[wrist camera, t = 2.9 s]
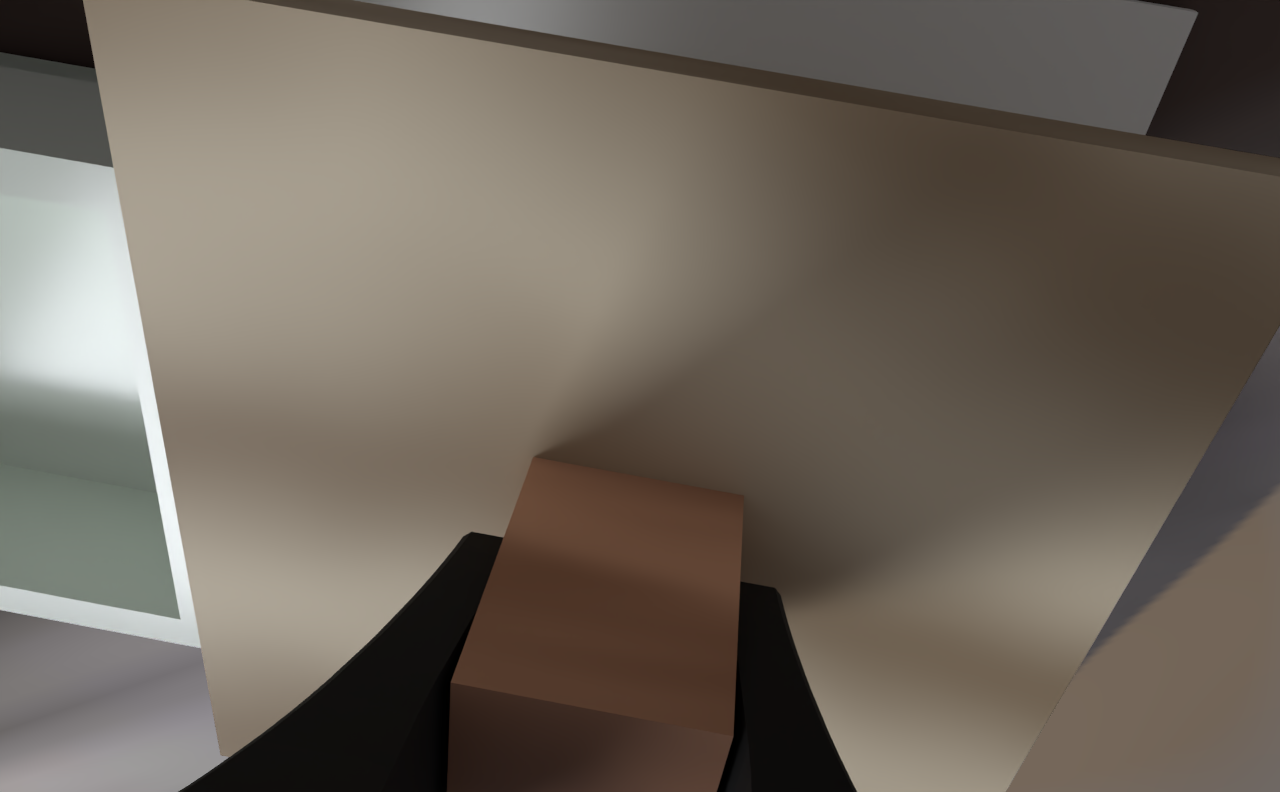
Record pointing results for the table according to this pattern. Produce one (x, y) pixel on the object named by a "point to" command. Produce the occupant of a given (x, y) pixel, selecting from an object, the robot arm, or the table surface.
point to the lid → (661, 378)
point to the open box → (77, 378)
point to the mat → (898, 45)
